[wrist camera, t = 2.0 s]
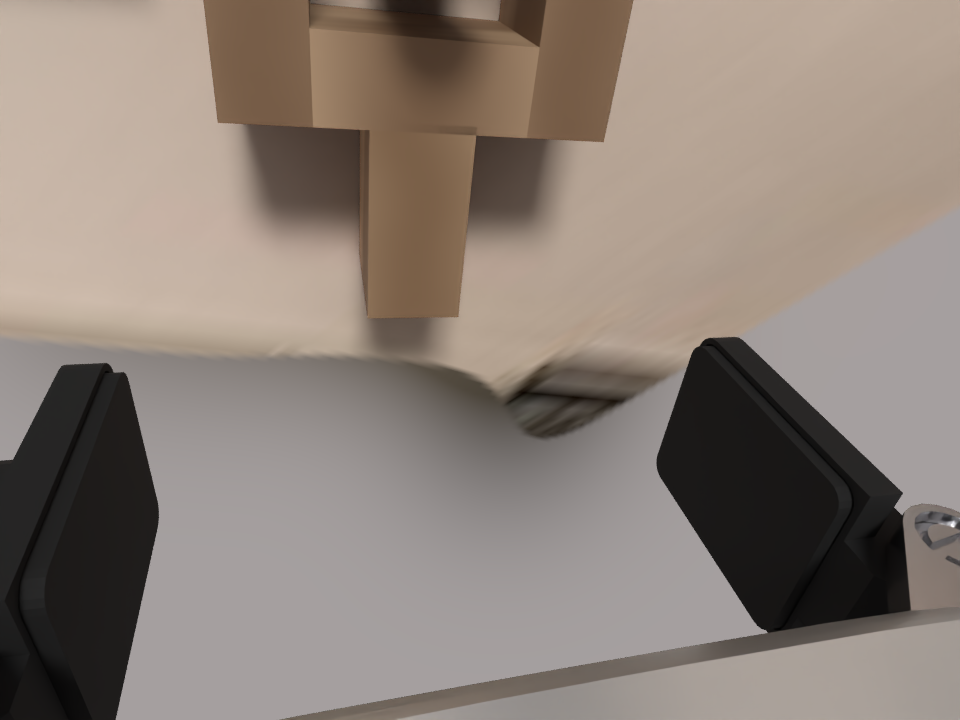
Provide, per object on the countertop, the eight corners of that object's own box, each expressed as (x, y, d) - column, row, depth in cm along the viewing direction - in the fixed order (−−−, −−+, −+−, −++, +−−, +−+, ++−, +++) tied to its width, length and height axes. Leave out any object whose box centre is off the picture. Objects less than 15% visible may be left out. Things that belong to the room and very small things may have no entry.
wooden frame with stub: (625, -325, 14) (715, -391, 11) (530, 255, 22) (567, 315, 19) (184, -427, 12) (139, -543, 9) (252, 253, 20) (241, 320, 17)
